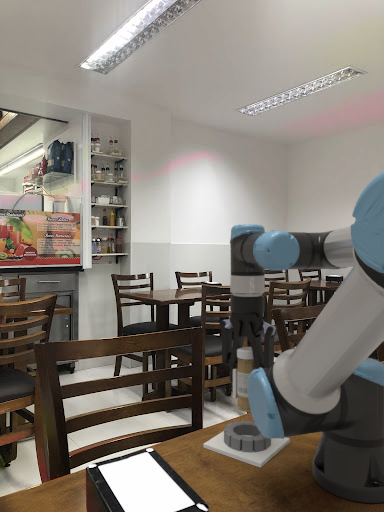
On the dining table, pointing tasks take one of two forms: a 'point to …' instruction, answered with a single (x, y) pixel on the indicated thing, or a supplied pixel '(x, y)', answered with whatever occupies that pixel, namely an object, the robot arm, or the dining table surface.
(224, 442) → the socket board
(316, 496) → the dining table surface
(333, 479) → the robot arm
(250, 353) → the sprinkles bottle
